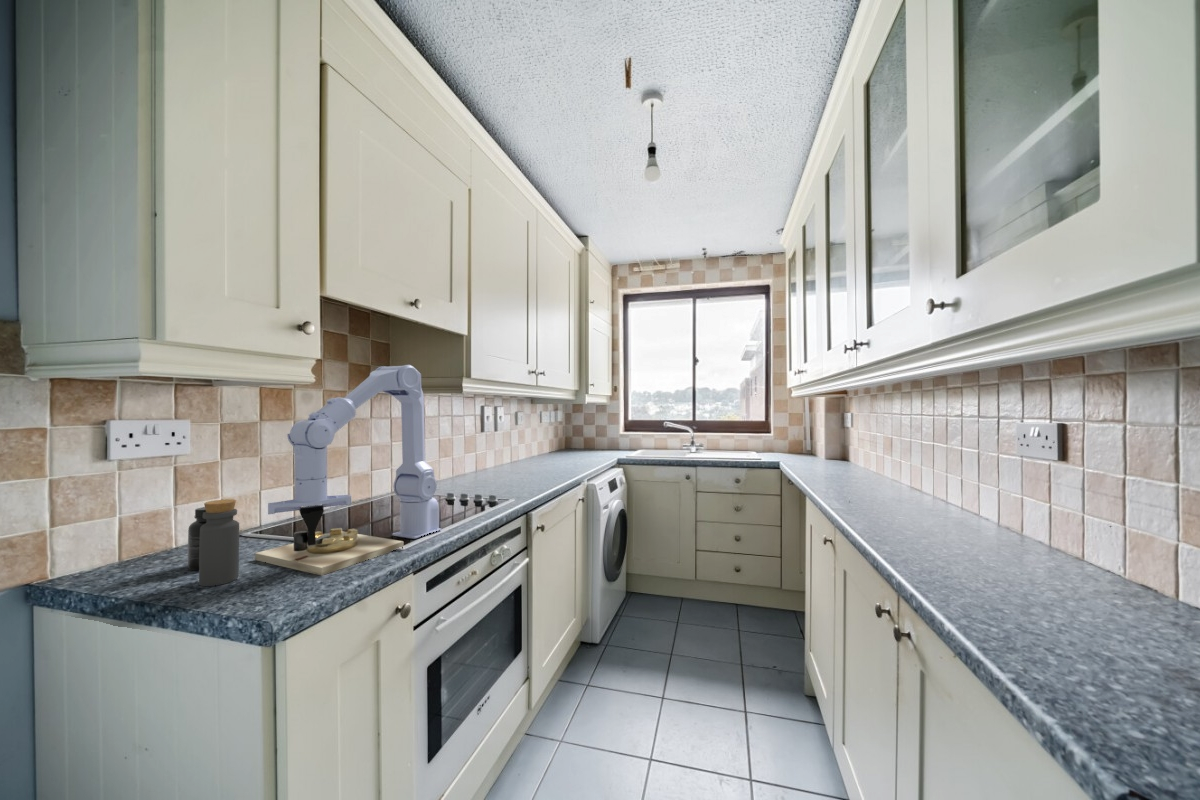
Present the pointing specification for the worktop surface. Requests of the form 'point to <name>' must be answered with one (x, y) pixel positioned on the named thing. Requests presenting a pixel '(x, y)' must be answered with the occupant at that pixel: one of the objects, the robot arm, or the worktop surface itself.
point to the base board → (328, 555)
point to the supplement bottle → (195, 539)
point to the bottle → (219, 544)
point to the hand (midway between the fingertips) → (311, 544)
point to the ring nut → (326, 541)
